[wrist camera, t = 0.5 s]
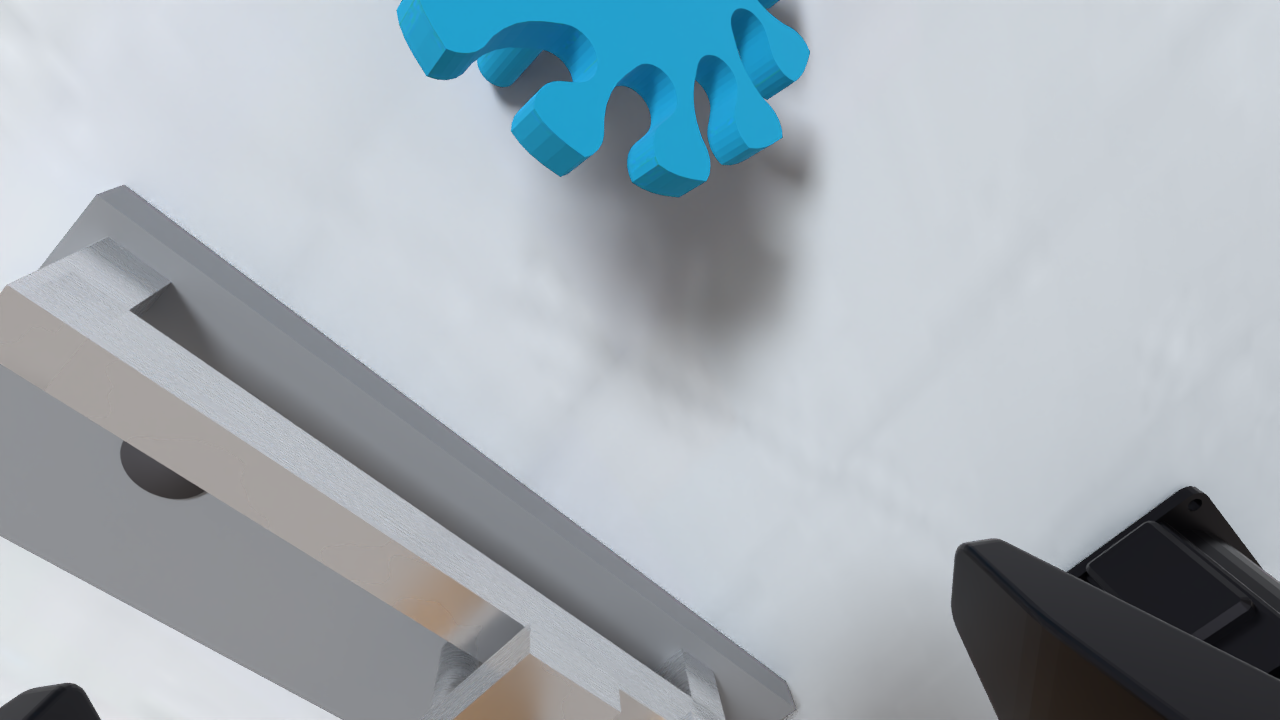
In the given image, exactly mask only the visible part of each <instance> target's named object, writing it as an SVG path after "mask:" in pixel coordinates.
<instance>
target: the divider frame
mask: <svg viewBox="0 0 1280 720" xmlns="http://www.w3.org/2000/svg"><path fill="white" fill-rule="evenodd" d="M170 283H171V281H169V280H168V279H166V278H165V277H164V276H162V275H161V274H160V273H158V272H157V271H155V270H154V269H153V268H151V267H150V266H148V265H147V264H146V263H144V262H143V261H141V260H140V259H139V258H137V257H136V256H134V255H133V254H132V253H130V252H129V251H128V250H126V249H125V248H123V247H122V246H121V245H119V244H118V243H116V242H115V241H114V240H112V239H111V238H109V237H107V238H105V239H103V240H101V241H99V242H97V243H95V244H93V245H90V246H88V247H86V248H84V249H82V250H80V251H78V252H76V253H73V254H71V255H69V256H67V257H65V258H63V259H61V260H59V261H56V262H54V263H52V264H50V265H48V266H46V267H44V268H42V269H39V270H37V271H35V272H33V273H31V274H29V275H27V276H25V277H22V278H20V279H18V280H16V281H14V282H12V283H10V284H8V285H6V287H5V288H4V289H3V291H2V292H1V293H0V364H1V365H3V366H4V367H6V368H8V369H9V370H11V371H13V372H14V373H16V374H17V375H19V376H21V377H22V378H24V379H25V380H27V381H29V382H30V383H32V384H33V385H35V386H37V387H38V388H40V389H42V390H43V391H45V392H46V393H48V394H50V395H51V396H53V397H54V398H56V399H58V400H59V401H61V402H63V403H64V404H66V405H67V406H69V407H71V408H72V409H74V410H75V411H77V412H79V413H80V414H82V415H84V416H85V417H87V418H88V419H90V420H92V421H93V422H95V423H96V424H98V425H100V426H101V427H103V428H104V429H106V430H108V431H109V432H111V433H113V434H114V435H116V436H117V437H119V438H121V439H122V440H124V441H125V442H127V443H129V444H130V445H132V446H134V447H135V448H137V449H138V450H140V451H142V452H143V453H145V454H146V455H148V456H150V457H151V458H153V459H155V460H156V461H158V462H159V463H161V464H163V465H164V466H166V467H167V468H169V469H171V470H172V471H174V472H175V473H177V474H179V475H180V476H182V477H184V478H185V479H187V480H188V481H190V482H192V483H193V484H195V485H196V486H198V487H200V488H201V489H203V490H205V491H206V492H208V493H209V494H211V495H213V496H214V497H216V498H217V499H219V500H221V501H222V502H224V503H226V504H227V505H229V506H230V507H232V508H234V509H235V510H237V511H238V512H240V513H242V514H243V515H245V516H246V517H248V518H250V519H251V520H253V521H255V522H256V523H258V524H259V525H261V526H263V527H264V528H266V529H267V530H269V531H271V532H272V533H274V534H276V535H277V536H279V537H280V538H282V539H284V540H285V541H287V542H288V543H290V544H292V545H293V546H295V547H297V548H298V549H300V550H301V551H303V552H305V553H306V554H308V555H309V556H311V557H313V558H314V559H316V560H317V561H319V562H321V563H322V564H324V565H326V566H327V567H329V568H330V569H332V570H334V571H335V572H337V573H338V574H340V575H342V576H343V577H345V578H347V579H348V580H350V581H351V582H353V583H355V584H356V585H358V586H359V587H361V588H363V589H364V590H366V591H368V592H369V593H371V594H372V595H374V596H376V597H377V598H379V599H380V600H382V601H384V602H385V603H387V604H389V605H390V606H392V607H393V608H395V609H397V610H398V611H400V612H401V613H403V614H405V615H406V616H408V617H409V618H411V619H413V620H414V621H416V622H418V623H419V624H421V625H422V626H424V627H426V628H427V629H429V630H430V631H432V632H434V633H435V634H437V635H439V636H440V637H442V638H443V639H445V640H447V641H448V642H450V643H451V644H453V645H455V646H456V647H458V648H460V649H461V650H463V651H464V652H466V653H468V654H469V655H471V656H472V657H474V658H476V659H477V660H479V661H480V662H482V663H484V662H486V661H487V660H488V659H489V658H490V657H491V656H492V655H494V654H495V653H496V652H497V651H498V650H499V649H500V648H502V647H503V646H504V645H505V644H506V643H507V642H508V641H510V640H511V639H512V638H513V637H514V636H515V635H517V634H518V633H519V632H520V631H521V630H522V629H523V628H525V627H526V626H527V625H528V624H529V623H530V622H531V623H533V624H534V625H536V626H537V627H539V628H540V629H542V630H543V631H545V632H546V633H548V634H549V635H551V636H552V637H554V638H555V639H557V640H558V641H560V642H561V643H563V644H564V645H566V646H568V647H569V648H571V649H572V650H574V651H575V652H577V653H578V654H580V655H581V656H583V657H584V658H586V659H587V660H589V661H590V662H592V663H593V664H595V665H596V666H598V667H599V668H601V669H602V670H604V671H605V672H607V673H608V674H610V675H611V676H613V677H614V678H616V679H617V680H618V686H619V696H620V706H621V713H620V714H619V715H617V716H616V717H615V718H614V719H612V720H725V716H724V712H723V708H722V704H721V700H720V696H719V692H718V688H717V684H716V680H715V676H714V672H713V671H712V670H711V669H709V668H708V667H706V666H705V665H704V664H702V663H701V662H700V661H698V660H697V659H695V658H694V657H693V656H691V655H690V654H688V653H687V652H686V651H684V650H683V649H680V650H679V651H678V652H677V653H676V654H674V655H673V656H672V657H671V658H669V659H668V660H667V661H666V662H664V663H663V664H662V665H661V666H659V667H658V668H657V669H656V670H655V671H652V670H651V669H649V668H648V667H646V666H645V665H644V664H642V663H641V662H639V661H638V660H636V659H635V658H633V657H632V656H631V655H629V654H628V653H626V652H625V651H623V650H622V649H620V648H619V647H617V646H616V645H615V644H613V643H612V642H610V641H609V640H607V639H606V638H604V637H603V636H601V635H600V634H599V633H597V632H596V631H594V630H593V629H591V628H590V627H588V626H587V625H585V624H584V623H583V622H581V621H580V620H578V619H577V618H575V617H574V616H572V615H571V614H569V613H568V612H567V611H565V610H564V609H562V608H561V607H559V606H558V605H556V604H555V603H554V602H552V601H551V600H549V599H548V598H546V597H545V596H543V595H542V594H540V593H539V592H538V591H536V590H535V589H533V588H532V587H530V586H529V585H527V584H526V583H524V582H523V581H522V580H520V579H519V578H517V577H516V576H514V575H513V574H511V573H510V572H508V571H507V570H506V569H504V568H503V567H501V566H500V565H498V564H497V563H495V562H494V561H492V560H491V559H490V558H488V557H487V556H485V555H484V554H482V553H481V552H479V551H478V550H477V549H475V548H474V547H472V546H471V545H469V544H468V543H466V542H465V541H463V540H462V539H461V538H459V537H458V536H456V535H455V534H453V533H452V532H450V531H449V530H447V529H446V528H445V527H443V526H442V525H440V524H439V523H437V522H436V521H434V520H433V519H431V518H430V517H429V516H427V515H426V514H424V513H423V512H421V511H420V510H418V509H417V508H415V507H414V506H413V505H411V504H410V503H408V502H407V501H405V500H404V499H402V498H401V497H400V496H398V495H397V494H395V493H394V492H392V491H391V490H389V489H388V488H386V487H385V486H384V485H382V484H381V483H379V482H378V481H376V480H375V479H373V478H372V477H370V476H369V475H368V474H366V473H365V472H363V471H362V470H360V469H359V468H357V467H356V466H354V465H353V464H352V463H350V462H349V461H347V460H346V459H344V458H343V457H341V456H340V455H338V454H337V453H336V452H334V451H333V450H331V449H330V448H328V447H327V446H325V445H324V444H322V443H321V442H320V441H318V440H317V439H315V438H314V437H312V436H311V435H309V434H308V433H307V432H305V431H304V430H302V429H301V428H299V427H298V426H296V425H295V424H293V423H292V422H291V421H289V420H288V419H286V418H285V417H283V416H282V415H280V414H279V413H277V412H276V411H275V410H273V409H272V408H270V407H269V406H267V405H266V404H264V403H263V402H261V401H260V400H259V399H257V398H256V397H254V396H253V395H251V394H250V393H248V392H247V391H245V390H244V389H243V388H241V387H240V386H238V385H237V384H235V383H234V382H232V381H231V380H230V379H228V378H227V377H225V376H224V375H222V374H221V373H219V372H218V371H216V370H215V369H214V368H212V367H211V366H209V365H208V364H206V363H205V362H203V361H202V360H200V359H199V358H198V357H196V356H195V355H193V354H192V353H190V352H189V351H187V350H186V349H184V348H183V347H182V346H180V345H179V344H177V343H176V342H174V341H173V340H171V339H170V338H168V337H167V336H166V335H164V334H163V333H161V332H160V331H158V330H157V329H155V328H154V327H153V326H151V325H150V324H148V323H147V322H145V321H144V320H142V319H141V318H142V316H143V315H144V314H145V313H146V312H147V310H148V309H149V308H150V307H151V306H152V304H153V303H154V302H155V301H156V300H157V298H158V297H159V296H160V295H161V294H162V292H163V291H164V290H165V289H166V288H167V286H168V285H169V284H170Z"/></svg>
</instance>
